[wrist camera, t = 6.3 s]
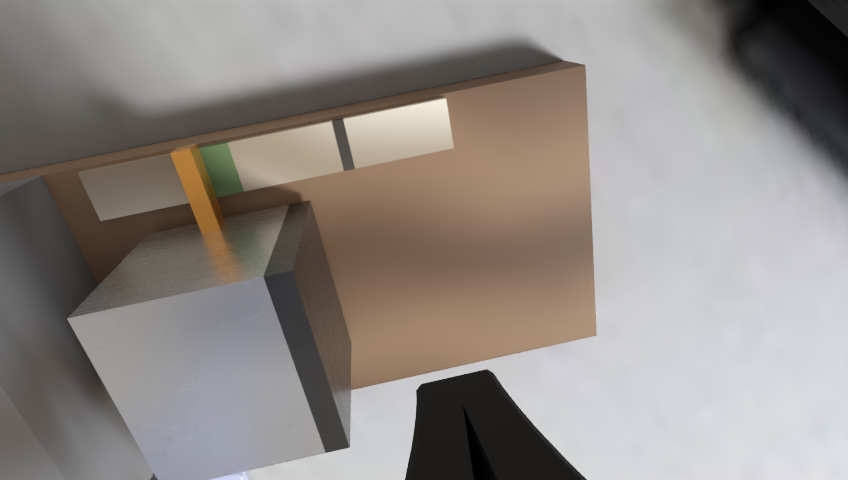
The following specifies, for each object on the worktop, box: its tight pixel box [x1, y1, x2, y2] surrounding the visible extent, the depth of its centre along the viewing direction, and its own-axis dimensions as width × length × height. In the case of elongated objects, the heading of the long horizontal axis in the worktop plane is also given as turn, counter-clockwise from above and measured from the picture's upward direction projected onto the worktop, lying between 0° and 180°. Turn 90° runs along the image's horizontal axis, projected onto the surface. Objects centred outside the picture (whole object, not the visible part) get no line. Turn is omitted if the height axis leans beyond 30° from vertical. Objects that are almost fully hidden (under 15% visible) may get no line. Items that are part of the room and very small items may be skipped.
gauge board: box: [0, 61, 596, 480], centre depth 14 cm, size 9×18×6 cm, turn 100°
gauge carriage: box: [67, 144, 352, 480], centre depth 13 cm, size 7×5×4 cm, turn 10°
